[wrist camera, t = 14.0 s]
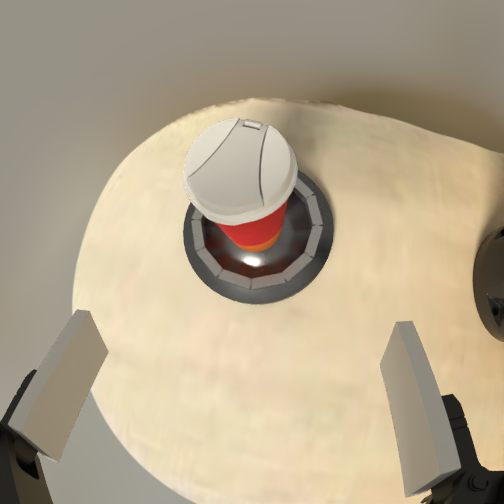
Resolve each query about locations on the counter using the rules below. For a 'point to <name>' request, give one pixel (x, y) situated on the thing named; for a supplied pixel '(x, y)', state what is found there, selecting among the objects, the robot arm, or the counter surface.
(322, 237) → the rosette plate
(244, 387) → the counter surface
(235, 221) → the paper cup
